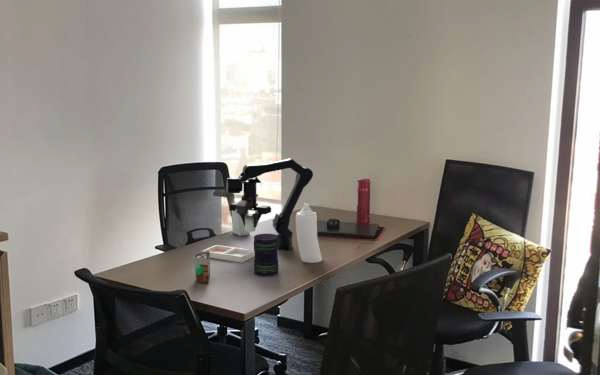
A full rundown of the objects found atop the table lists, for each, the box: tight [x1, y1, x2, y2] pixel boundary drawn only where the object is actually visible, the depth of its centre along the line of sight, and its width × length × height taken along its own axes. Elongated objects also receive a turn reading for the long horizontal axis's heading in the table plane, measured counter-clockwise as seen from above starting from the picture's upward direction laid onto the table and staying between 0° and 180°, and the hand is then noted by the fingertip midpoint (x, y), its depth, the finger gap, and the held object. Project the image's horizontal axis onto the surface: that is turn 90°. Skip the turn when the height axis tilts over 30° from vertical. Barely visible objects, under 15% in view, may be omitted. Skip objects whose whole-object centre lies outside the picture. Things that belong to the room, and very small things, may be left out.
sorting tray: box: [201, 244, 255, 264], centre depth 268 cm, size 20×11×2 cm, turn 64°
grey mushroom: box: [245, 213, 256, 233], centre depth 275 cm, size 5×5×7 cm
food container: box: [192, 250, 211, 285], centre depth 236 cm, size 12×6×10 cm, turn 5°
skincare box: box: [231, 209, 251, 236], centre depth 306 cm, size 8×6×15 cm
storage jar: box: [253, 233, 279, 278], centre depth 244 cm, size 10×10×15 cm
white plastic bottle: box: [295, 202, 323, 264], centre depth 260 cm, size 12×11×25 cm
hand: (250, 227), depth 275 cm, fingers closed on grey mushroom, 5 cm apart
